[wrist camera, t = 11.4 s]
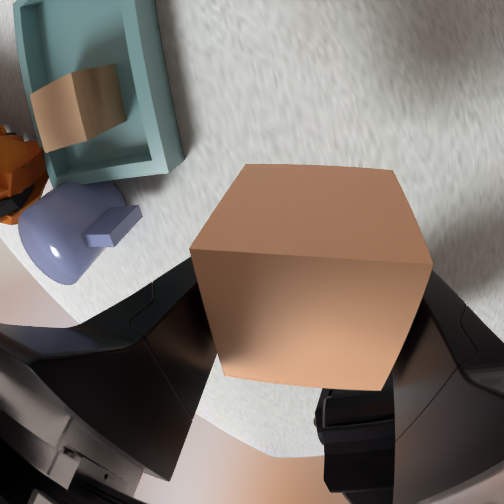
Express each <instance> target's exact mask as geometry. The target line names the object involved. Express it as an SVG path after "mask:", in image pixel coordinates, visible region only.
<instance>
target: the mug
mask: <svg viewBox="0 0 504 504" xmlns="http://www.w3.org/2000/svg"><path fill="white" fill-rule="evenodd" d="M142 217H143V216H142V213H141V210H140V207H139V205H132V206H126V204H125V201H124V198H123V196H122V194H121V192H120V190H119V189H118V187H117V186H116V185H115V183H114V182H113V181H112V180H109V181H102V182H96V183H89V184H83V185H81V184H79V183H76V182H71V181H68V182H63V183H61V184H59V185H58V186H56V187H55V188H54V189H52V190H51V191H50V192H48V193H47V194H45V195H44V196H43V197H41V198H40V199H39V200H38V201H36V202H35V203H34V204H32V205H31V206H30V207H28V208H27V209H26V210H25V211H23V212H22V213H21V215H20V217H19V221H18V230H19V235H20V238H21V241H22V244H23V246H24V248H25V250H26V252H27V254H28V255H29V257H30V258H31V260H32V261H33V262H34V264H35V265H36V266H37V267H38V268H39V269H40V270H41V271H42V272H43V273H44V274H45V275H46V276H48V277H49V278H51V279H52V280H54V281H56V282H58V283H60V284H64V285H72V284H74V283H76V282H77V281H78V279H79V278H80V277H81V276H82V275H83V274H84V272H85V271H86V270H87V269H88V268H89V267H90V265H91V264H92V263H93V262H94V261H95V260H96V259H97V258H98V256H99V255H100V254H101V253H102V252H103V251H104V250H105V249H106V248H107V247H115V246H116V245H117V244H118V243H119V241H120V240H121V239H122V238H123V237H124V236H125V235H126V234H127V233H128V232H129V231H130V230H131V228H132V227H133V226H134V225H135V224H136V223H137V222H138V221H139V220H140V219H141V218H142Z"/></svg>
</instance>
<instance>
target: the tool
mask: <svg viewBox="0 0 504 504" xmlns="http://www.w3.org/2000/svg"><path fill="white" fill-rule="evenodd" d="M48 179H49V175H48V172H47V169H46V166H45V160H44V155H43V148H41V147H39V144H38V141H37V140H35V141H26V142H24V140H23V139H22V137H21V136H17V134H16V133H7V132H6V130H5V128H4V127H3V125H2V126H0V223H4V224H9V225H14V224H18V221H19V217H20V215H21V213H22V212H23V211H25V210H26V209H27V208H28V207H30V206H31V205H32V204H34V203H35V202H36V201H38V200H39V199H40V198H41V196H42V193H43V190H44V188H45V185H46V183H47V181H48Z"/></svg>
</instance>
